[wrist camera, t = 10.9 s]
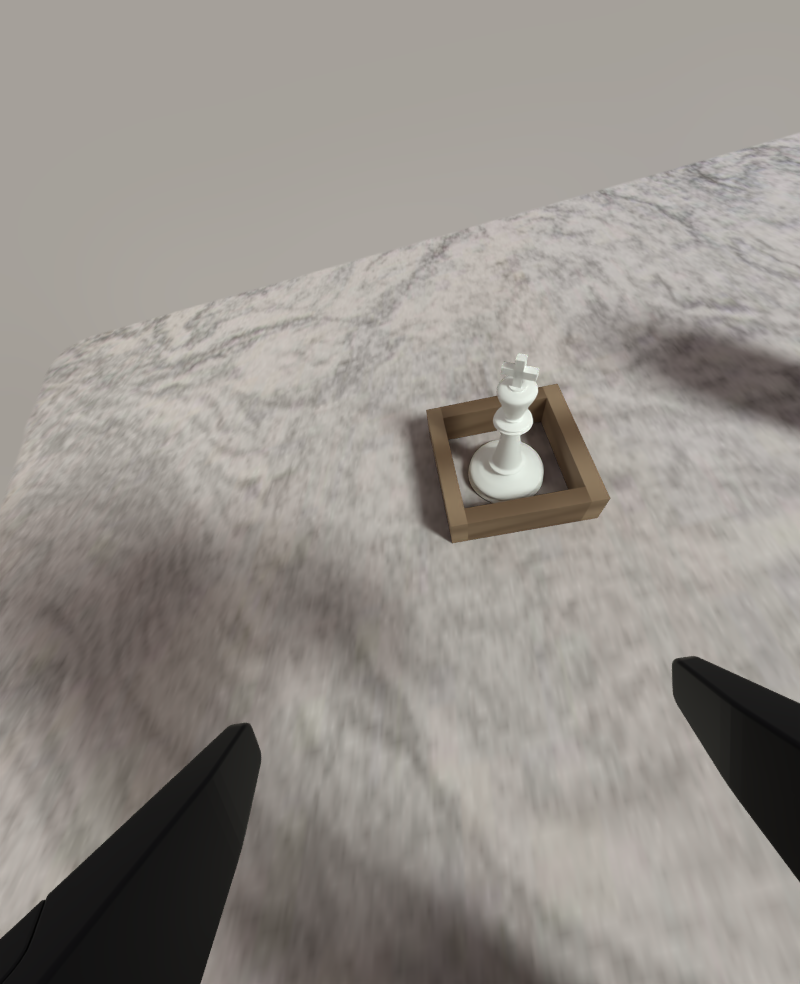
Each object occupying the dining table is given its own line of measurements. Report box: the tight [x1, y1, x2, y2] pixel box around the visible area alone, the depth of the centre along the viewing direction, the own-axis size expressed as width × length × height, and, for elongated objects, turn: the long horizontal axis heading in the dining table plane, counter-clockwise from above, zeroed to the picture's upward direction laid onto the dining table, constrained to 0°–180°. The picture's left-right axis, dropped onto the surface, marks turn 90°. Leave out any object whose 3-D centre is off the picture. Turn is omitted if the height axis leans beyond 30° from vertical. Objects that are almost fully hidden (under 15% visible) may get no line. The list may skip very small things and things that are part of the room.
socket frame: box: [426, 384, 610, 543], centre depth 25 cm, size 9×9×2 cm
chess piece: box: [468, 353, 544, 503], centre depth 22 cm, size 5×5×10 cm
